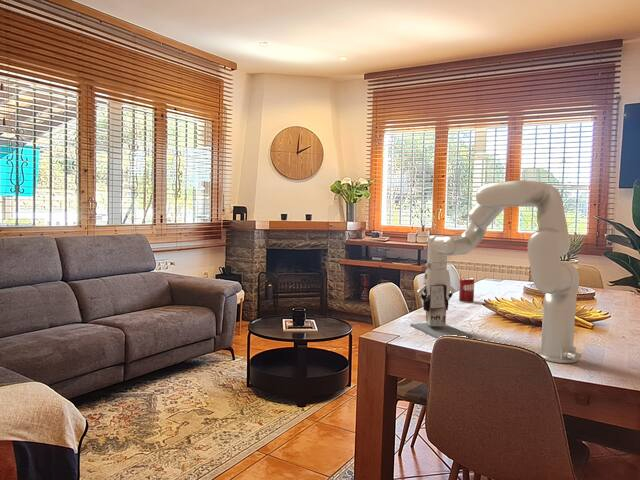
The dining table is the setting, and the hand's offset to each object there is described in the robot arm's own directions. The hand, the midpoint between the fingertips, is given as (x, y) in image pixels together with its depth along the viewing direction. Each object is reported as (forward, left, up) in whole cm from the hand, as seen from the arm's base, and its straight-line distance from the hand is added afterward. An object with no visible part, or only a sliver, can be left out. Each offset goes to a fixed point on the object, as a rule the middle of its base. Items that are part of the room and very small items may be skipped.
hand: (435, 309), depth 199 cm
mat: (-4, 0, -8) cm, 9 cm away
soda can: (+47, -47, -8) cm, 67 cm away
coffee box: (0, 0, -6) cm, 6 cm away
